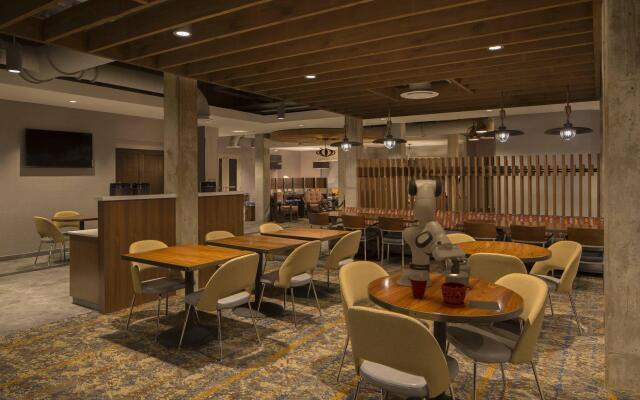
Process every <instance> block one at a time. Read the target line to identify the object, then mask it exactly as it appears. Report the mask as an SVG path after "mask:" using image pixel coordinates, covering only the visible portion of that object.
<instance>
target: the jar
mask: <svg viewBox="0 0 640 400" xmlns="http://www.w3.org/2000/svg"><path fill="white" fill-rule="evenodd" d="M459 260H460V263H461V264H460V270H459V271H463V272H467V273H468V277H465V278H452V277H446V276H445V280H444V281H445V282H444V283H446V282H458V283H462V284H465V285H466V288H468V287H469V284H470V277H471V276H470V275H471V269H472V268H471V264H470V263H469V262H468V261H467V259H465V258H463V259H459ZM450 261H451V260H450ZM445 271H451V266H450V264H448V263H447V262H446V269H445ZM450 288H451V286H450ZM456 288H458V287H456Z"/></svg>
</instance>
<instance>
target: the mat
mask: <svg viewBox="0 0 640 400" xmlns="http://www.w3.org/2000/svg"><path fill="white" fill-rule="evenodd" d="M467 302H468V308H469V309H478V310H479V309H480V310H493V311H502V310H501V308H500V305H499V302H498V301H487V300H486V301H485V300H484V301H483V300H469V299H468V300H467Z"/></svg>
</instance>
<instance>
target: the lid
mask: <svg viewBox="0 0 640 400" xmlns="http://www.w3.org/2000/svg"><path fill="white" fill-rule="evenodd" d="M451 262H453V263H454V266H451V271H446V270H443V271H442V272H441V275H442V276H443V277H445V278H446V277H452V278H465V277H468V273H467V272H463V271H459V270H460V260H456V259H455V260H451Z"/></svg>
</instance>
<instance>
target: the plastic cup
mask: <svg viewBox="0 0 640 400" xmlns="http://www.w3.org/2000/svg"><path fill="white" fill-rule="evenodd" d="M410 280H411V285H412V287H411V290H412V296H413V299H415V300H423V299H424V297H425V292H426V288H427V287H426V284H427V281H428V279H427V278H422V277H410Z"/></svg>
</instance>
